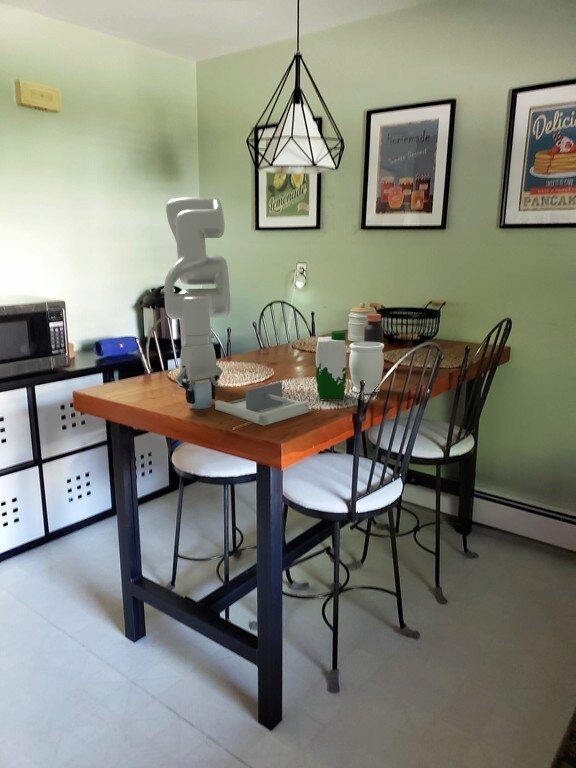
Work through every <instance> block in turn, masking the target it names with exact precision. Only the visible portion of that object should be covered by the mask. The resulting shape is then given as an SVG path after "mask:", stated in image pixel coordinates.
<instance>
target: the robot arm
mask: <svg viewBox="0 0 576 768" xmlns="http://www.w3.org/2000/svg"><path fill="white" fill-rule="evenodd" d="M165 210H166V211H165V212H166V218H167V222H168V226H169V227H170V230H171V233H172V235H173V236H174V237H173V238H174V239H175V242H176V253H177V260H176V262H175V263H174V264H173V266H172V267H171V268H170V269H169V271H168V272H167V275H166V277H165V280H164V287H163V288H164V289H163V290H164V291H163V293H164V308H165V313H166V315H167V317H168V318H170V319H172V320H179V327H180V328H179V330H180V342H181V343H180V344H181V349H180V358H179V361H180V362H179V372H178V374H177V376H176V377H175V379H174V380H175V382H177V384H178V385H179V386H180V387H182V388H183V390H184V391H185V400H186V402H187V403H188V404H189V405H190V404H194V403H195V397H194V390H192V388H193V385H194V382H195V381H196V380H201V379H206V378H210V381H211V389H212V400H215V399H216V386H217V383H218V381H219V380H220V377H221V376H222V374H223V369H222V368H221V367H219V366H218V365H217V357H216V351H215V347H214V343H212V339H213V338H214V337H215V336H214V334H213V333H211V331H212V330H211V319H212V318H213V319H215V318H225V317H227V316H229V315H230V313H231V307H232V305H231V292H230V291H231V289H230V279H229V278H230V277H229V268H228V267H229V266H228V263H227V260H226V258H224V257H223V256H222V255H217V254H216V255H215V254H207V248H206V239H219V238H222V237H223V236H224V233H225V224H226V223H225V217H224V211H223V205H222V204H221V201H220V200H219V199H218V198H216V197H177V198H176V197H175V198H171V199H170V200H168V202H167V203H166V205H165ZM178 280H180V282H181V283H182V284H183V285H186V286H214V287H213V288H211V287H210V288H203V287H202V288H186V289H182V290H180V292H178V293H176V292H175V290H174V288H175V284H176V282H177V281H178Z"/></svg>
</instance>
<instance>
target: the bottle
mask: <svg viewBox="0 0 576 768" xmlns="http://www.w3.org/2000/svg"><path fill="white" fill-rule="evenodd" d="M381 321H382V314H380V313H374V314H368V315H367V322H368V325H367V326H366V327H365V329H364V342H378V343H382V344H384V328H383V326H382V325H381ZM382 352H383V353H384V348H383V349H382Z"/></svg>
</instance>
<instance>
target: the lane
mask: <svg viewBox="0 0 576 768" xmlns="http://www.w3.org/2000/svg"><path fill="white" fill-rule="evenodd" d="M283 398H286V399H287V402H286V403H284V402H283V404H282V405H279V406H275V407H271V408H268V409H264V410H261V411H257V412H254V411H251V410H248V409H246V397H244V398H241V399H240V398H239V399H236V400H232V401H228V402H226V401H223V400H220V399H219V400H215V401H214V406H215V407H214V408H215V410H217V411H220V412H222V413H226V414H227V415H231V416H234V417H236V418H240V419H242V420H246V421H249V422H251V423H255V424H256V425H261V426H267V425H271V424H274V423H278V422H280V421H284V420H287V419H291V418H294V417H297V416H300V415H303V414H306V413H309V401H307V400H301V401H299V400H296V399H292V398H290V397H289V398H288V397H285V396H283Z"/></svg>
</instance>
